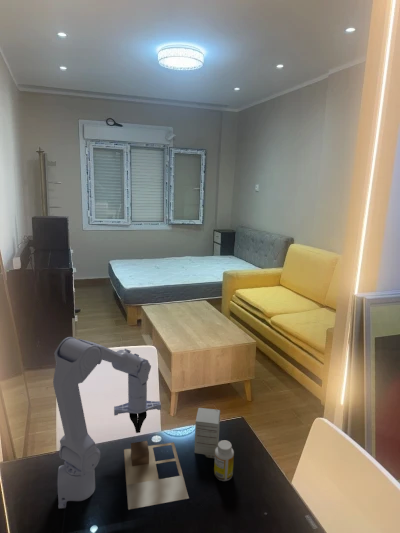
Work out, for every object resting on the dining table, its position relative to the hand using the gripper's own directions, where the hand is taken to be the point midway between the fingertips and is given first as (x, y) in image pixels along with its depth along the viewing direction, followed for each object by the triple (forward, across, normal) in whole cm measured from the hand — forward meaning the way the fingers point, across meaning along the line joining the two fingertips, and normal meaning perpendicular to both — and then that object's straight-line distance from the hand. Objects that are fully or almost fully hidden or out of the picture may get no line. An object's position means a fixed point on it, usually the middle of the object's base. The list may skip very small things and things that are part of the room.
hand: (137, 430), depth 116 cm
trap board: (+5, -3, +14) cm, 15 cm away
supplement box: (+6, -21, +7) cm, 23 cm away
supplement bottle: (+6, -23, +18) cm, 30 cm away
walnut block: (+4, 0, +8) cm, 9 cm away
